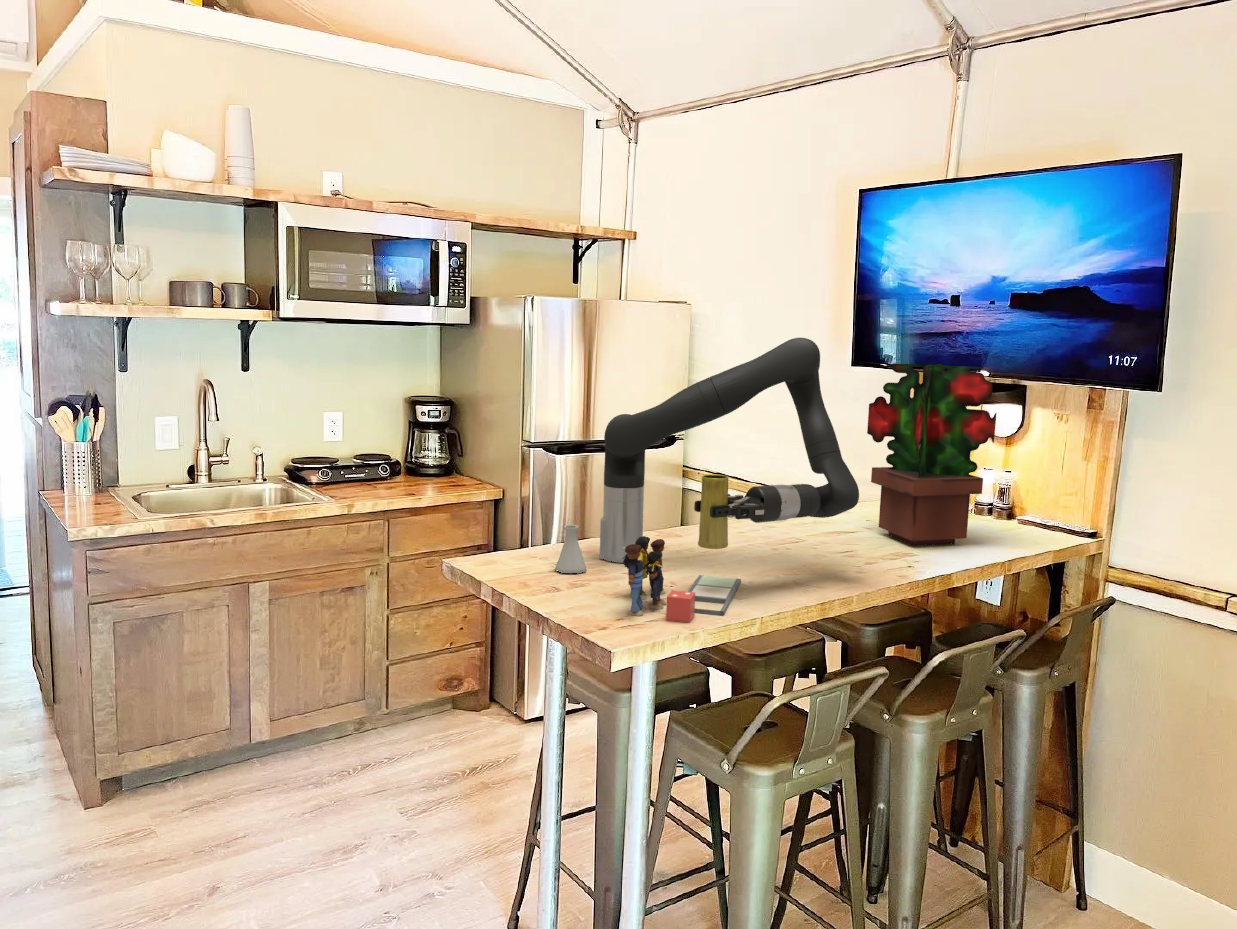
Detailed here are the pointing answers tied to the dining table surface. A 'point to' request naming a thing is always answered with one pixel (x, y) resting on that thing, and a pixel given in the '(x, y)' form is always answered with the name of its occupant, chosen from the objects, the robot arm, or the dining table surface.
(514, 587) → the dining table surface
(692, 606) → the red die
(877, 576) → the dining table surface
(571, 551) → the flask
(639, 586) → the doll family
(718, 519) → the vase
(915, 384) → the potted plant
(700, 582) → the game board
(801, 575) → the dining table surface
